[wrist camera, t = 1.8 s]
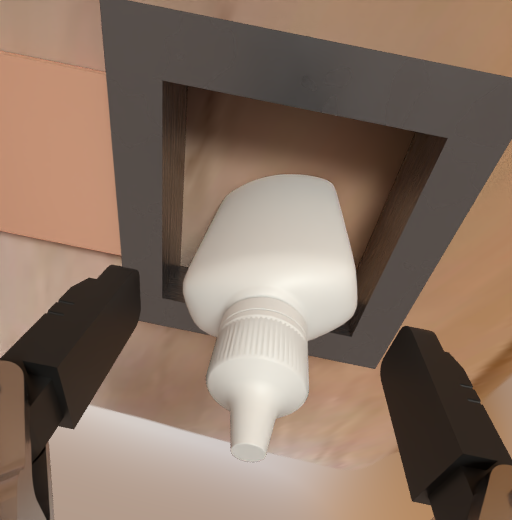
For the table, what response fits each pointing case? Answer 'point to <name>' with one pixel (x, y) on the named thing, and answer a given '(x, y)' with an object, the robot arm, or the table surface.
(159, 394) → the table surface
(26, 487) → the robot arm
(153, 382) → the table surface
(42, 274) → the table surface
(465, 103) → the socket plate
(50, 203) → the terracotta tile
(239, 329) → the eye dropper bottle
